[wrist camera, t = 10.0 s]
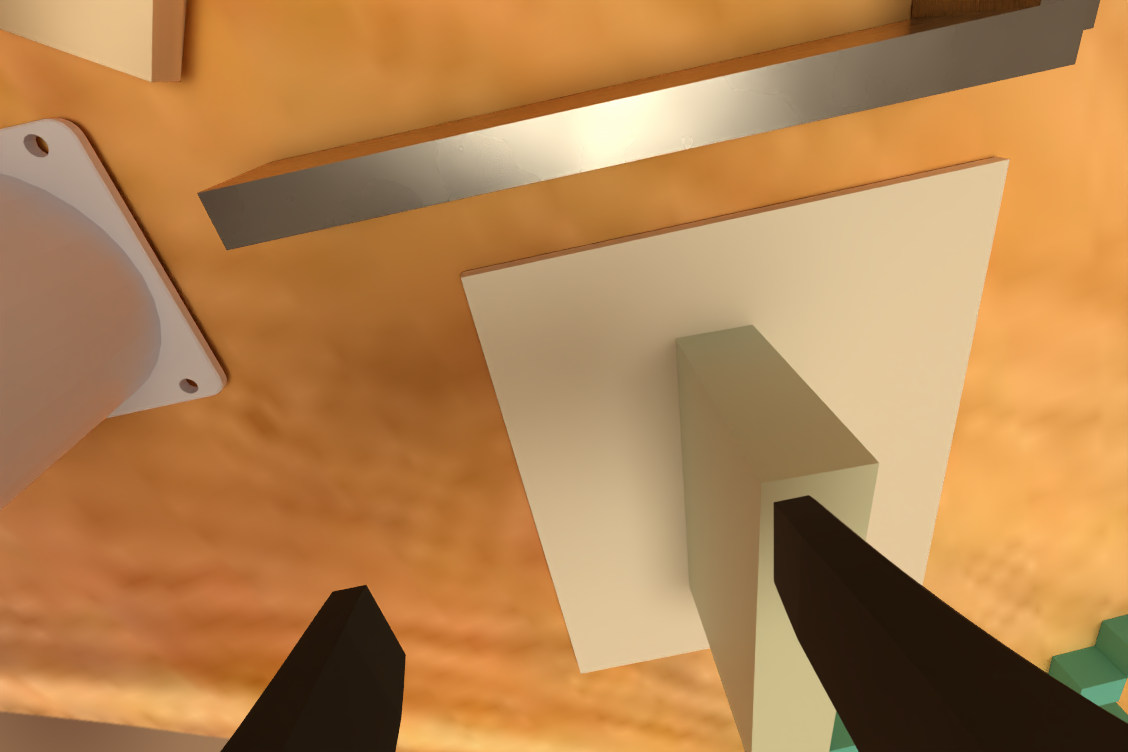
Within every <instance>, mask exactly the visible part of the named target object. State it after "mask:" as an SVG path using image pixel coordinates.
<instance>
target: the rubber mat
mask: <svg viewBox="0 0 1128 752" xmlns="http://www.w3.org/2000/svg"><path fill="white" fill-rule="evenodd" d="M1009 160H1010V159H1006V158H1001V157H992V158H988V159H983V160H978V161H974V162H969V163H965V164H960V165H955V166H951V167H946V168H941V169H937V170H932V171H928V172H923V173H918V174H914V175H909V176H904V177H900V178H895V179H891V180H886V181H881V182H877V183H872V184H867V185H863V186H858V187H854V188H849V189H844V190H840V191H835V192H830V193H826V194H821V195H817V196H812V197H807V198H803V199H798V200H793V201H789V202H784V203H780V204H775V205H770V206H766V207H761V208H756V209H752V210H747V211H743V212H738V213H733V214H729V215H724V216H719V217H715V218H710V219H706V220H701V221H696V222H692V223H687V224H682V225H678V226H673V227H669V228H664V229H659V230H655V231H650V232H645V233H641V234H636V235H632V236H627V237H622V238H618V239H613V240H608V241H604V242H599V243H595V244H590V245H585V246H581V247H576V248H571V249H567V250H562V251H557V252H553V253H548V254H544V255H539V256H534V257H530V258H525V259H520V260H516V261H511V262H507V263H502V264H497V265H493V266H488V267H483V268H479V269H474V270H470V271H465V272H462V274H461V280H462V284H463V287H464V290H465V294H466V297H467V300H468V303H469V307H470V310H471V313H472V317H473V320H474V323H475V327H476V330H477V333H478V336H479V340H480V343H481V346H482V350H483V353H484V356H485V359H486V363H487V366H488V369H489V373H490V376H491V379H492V382H493V386H494V389H495V392H496V396H497V399H498V402H499V405H500V409H501V412H502V415H503V419H504V422H505V425H506V429H507V432H508V435H509V438H510V442H511V445H512V448H513V452H514V455H515V458H516V461H517V465H518V468H519V471H520V475H521V478H522V481H523V484H524V488H525V491H526V494H527V498H528V501H529V504H530V508H531V511H532V514H533V517H534V521H535V524H536V527H537V531H538V534H539V537H540V540H541V544H542V547H543V550H544V554H545V557H546V560H547V563H548V567H549V570H550V573H551V577H552V580H553V583H554V586H555V590H556V593H557V596H558V600H559V603H560V606H561V610H562V613H563V616H564V619H565V623H566V626H567V629H568V633H569V636H570V639H571V642H572V646H573V649H574V652H575V656H576V659H577V662H578V665H579V669H580V672H581V674H582V673H587V672H592V671H597V670H602V669H607V668H612V667H617V666H622V665H627V664H633V663H638V662H643V661H648V660H653V659H658V658H663V657H668V656H673V655H678V654H683V653H688V652H693V651H698V650H704V649H709V648H710V646H709V643H708V640H707V637H706V634H705V631H704V628H703V625H702V622H701V619H700V616H699V613H698V610H697V607H696V604H695V602H694V599H693V596H692V593H691V590H690V586H689V569H688V551H687V533H686V516H685V498H684V480H683V462H682V445H681V427H680V409H679V392H678V374H677V356H676V339H675V338H679V337H685V336H691V335H697V334H702V333H708V332H714V331H719V330H725V329H731V328H737V327H742V326H748V325H754V327H755V328H756V329H757V330H758V331H759V332H760V333H761V334H762V335H763V336H764V337H765V339H766V340H767V341H768V342H769V343H770V344H771V345H772V346H773V347H774V348H775V349H776V351H777V352H778V353H779V354H780V355H781V356H782V357H783V358H784V359H785V360H786V362H787V363H788V364H789V365H790V366H791V367H792V368H793V369H794V370H795V371H796V372H797V374H798V375H799V376H800V377H801V378H802V379H803V380H804V381H805V382H806V383H807V384H808V386H809V387H810V388H811V389H812V390H813V391H814V392H815V393H816V394H817V395H818V396H819V398H820V399H821V400H822V401H823V402H824V403H825V404H826V405H827V406H828V407H829V408H830V410H831V411H832V412H833V413H834V414H835V415H836V416H837V417H838V418H839V419H840V420H841V422H842V423H843V424H844V425H845V426H846V427H847V428H848V429H849V430H850V431H851V432H852V434H853V435H854V436H855V437H856V438H857V439H858V440H859V441H860V442H861V443H862V444H863V446H864V447H865V448H866V449H867V450H868V451H869V452H870V453H871V454H872V455H873V456H874V458H875V459H876V460H877V461H878V462H879V468H878V474H877V479H876V485H875V491H874V497H873V502H872V508H871V514H870V520H869V525H868V531H867V537H866V542H867V543H868V544H870V545H871V546H872V547H873V548H875V549H876V550H877V551H878V552H880V553H881V554H882V555H883V556H885V557H886V558H887V559H888V560H890V561H891V562H892V563H893V564H895V565H896V566H897V567H899V568H900V569H901V570H902V571H904V572H905V573H906V574H908V575H909V576H910V577H912V578H913V579H914V580H916V581H917V582H918V583H920V584H921V585H923V580H924V575H925V570H926V566H927V561H928V556H929V551H930V546H931V541H932V536H933V531H934V526H935V522H936V517H937V512H938V507H939V502H940V497H941V492H942V487H943V483H944V478H945V473H946V468H947V463H948V458H949V453H950V448H951V443H952V439H953V434H954V429H955V424H956V419H957V414H958V409H959V404H960V399H961V395H962V390H963V385H964V380H965V375H966V370H967V365H968V360H969V355H970V351H971V346H972V341H973V336H974V331H975V326H976V321H977V316H978V311H979V307H980V302H981V297H982V292H983V287H984V282H985V277H986V272H987V268H988V263H989V258H990V253H991V248H992V243H993V238H994V233H995V228H996V224H997V219H998V214H999V209H1000V204H1001V199H1002V194H1003V189H1004V184H1005V180H1006V175H1007V170H1008V165H1009Z"/></svg>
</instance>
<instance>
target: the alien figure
mask: <svg viewBox="0 0 1128 752" xmlns="http://www.w3.org/2000/svg"><path fill="white" fill-rule="evenodd" d="M1049 675H1050V676H1052V677H1054V678H1055V679H1057V680H1058V681H1060V682H1062V683H1063V684H1065V685H1066V686H1068V687H1069V688H1071V689H1073V690H1074V691H1076V692H1077V693H1079V694H1081V695H1082V696H1084V697H1085V698H1087V699H1089V700H1090V701H1092V702H1093V703H1095V704H1097V705H1098V706H1100V707H1101V708H1103V709H1105V710H1106V711H1108V712H1110V713H1111V714H1113V715H1115V716H1116V717H1118V718H1120V719H1121V720H1123V721H1125V722H1127V723H1128V715H1127V714H1126V713H1125V712H1124V710H1123V709H1122V708H1121V707H1120V706H1119V705H1118V704H1117V703H1116V702H1117V701H1119V699H1120V696H1121V693H1122V691H1123V688H1124V685H1125V683H1126V680H1127V678H1128V614H1127V615H1124V616H1120V617H1116V618H1112V619H1108V620H1104V621H1102V624H1101V627H1100V631H1099V634H1098V637H1097V641H1096V644H1095V646H1092V647H1088V648H1084V649H1080V650H1076V651H1072V652H1069V653H1065V654H1061V655H1057V656H1053V657H1052V661H1051V665H1050V669H1049ZM829 752H858V750H857V748H856V746H855V744H854V742H853V741H852V739H851V737H850V735H849V733H848V731H847V730H846V728H845V726H844V724H843V722H842V720H841V719H840V717H839V715H838V713H837V712H836V715H835V721H834V727H833V732H832V738H831V744H830V750H829Z"/></svg>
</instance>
